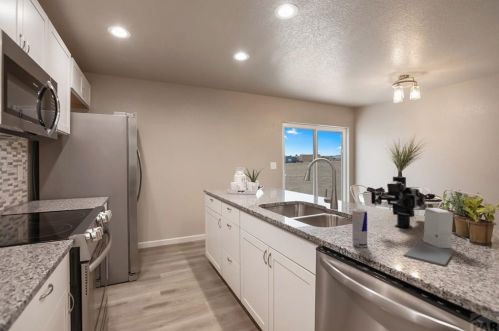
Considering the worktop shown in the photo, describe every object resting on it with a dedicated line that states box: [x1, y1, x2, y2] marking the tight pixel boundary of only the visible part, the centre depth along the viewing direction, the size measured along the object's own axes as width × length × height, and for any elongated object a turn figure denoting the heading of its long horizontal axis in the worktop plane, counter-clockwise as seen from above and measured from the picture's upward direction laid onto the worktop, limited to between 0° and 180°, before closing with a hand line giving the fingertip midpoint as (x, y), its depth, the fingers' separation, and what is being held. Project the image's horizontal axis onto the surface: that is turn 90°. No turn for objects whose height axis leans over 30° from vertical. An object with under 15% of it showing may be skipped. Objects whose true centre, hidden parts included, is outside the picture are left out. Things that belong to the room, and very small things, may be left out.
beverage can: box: [351, 208, 368, 248], centre depth 101 cm, size 6×6×15 cm
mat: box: [403, 242, 455, 267], centre depth 92 cm, size 18×12×1 cm, turn 132°
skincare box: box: [422, 207, 454, 249], centre depth 101 cm, size 8×6×15 cm
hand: (386, 201), depth 111 cm, fingers open, 9 cm apart
